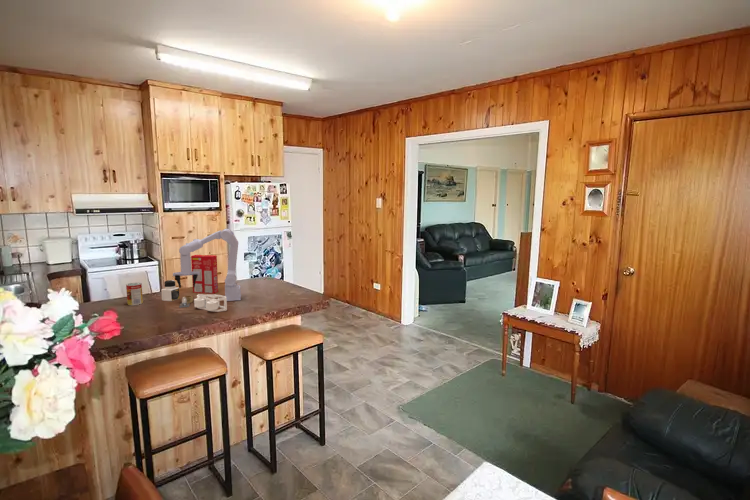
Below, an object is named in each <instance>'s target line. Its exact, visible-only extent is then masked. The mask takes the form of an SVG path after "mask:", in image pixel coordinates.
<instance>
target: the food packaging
mask: <svg viewBox="0 0 750 500" xmlns="http://www.w3.org/2000/svg"><path fill="white" fill-rule="evenodd" d="M190 257H191V271H195V272H198V271H199V272H200V275H198V276H197V279H196V282H195V287H193V286H192V293H193V294H207V295H216V293H218V292H219V281H218V279H219V278H218V277H219V276H218V256H217V254H215V255H213V254H211V255H210V254H193V255H190ZM191 278H192V279H191V280H192V284H193V275H191Z"/></svg>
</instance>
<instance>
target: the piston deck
mask: <svg viewBox="0 0 750 500" xmlns="http://www.w3.org/2000/svg"><path fill="white" fill-rule="evenodd" d="M182 297H183V296H182ZM190 304H191V303H187V299H186V297H183V299H182V298H181V303H179V306H178V307H179V309H180V308H182V309H183V308H189V307H190Z"/></svg>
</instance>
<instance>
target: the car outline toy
mask: <svg viewBox="0 0 750 500" xmlns="http://www.w3.org/2000/svg"><path fill="white" fill-rule="evenodd" d="M206 297H207V298H206ZM205 300H206V304H205ZM220 301H223V305H220ZM193 304H194V308H197V309H199V310H205V311H208V312H212V313H213V312H214V313H215V312H216V313H220V312H226V311H228V301H227V297H226V296H225V295H221V294H204V293H197V295H196V298H193ZM219 308H220V309H219Z"/></svg>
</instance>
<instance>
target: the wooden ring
mask: <svg viewBox="0 0 750 500" xmlns="http://www.w3.org/2000/svg"><path fill="white" fill-rule="evenodd" d="M183 297H186V299H187V303H190V304H191V303H194V296H193V295H184V296H182V298H181V300H182V299H183Z"/></svg>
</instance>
